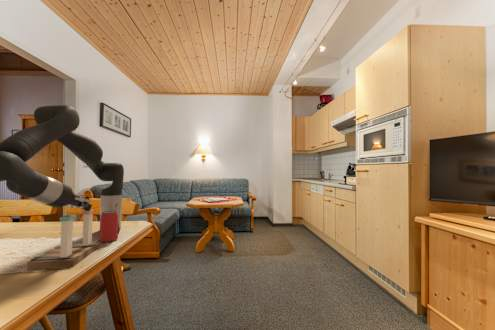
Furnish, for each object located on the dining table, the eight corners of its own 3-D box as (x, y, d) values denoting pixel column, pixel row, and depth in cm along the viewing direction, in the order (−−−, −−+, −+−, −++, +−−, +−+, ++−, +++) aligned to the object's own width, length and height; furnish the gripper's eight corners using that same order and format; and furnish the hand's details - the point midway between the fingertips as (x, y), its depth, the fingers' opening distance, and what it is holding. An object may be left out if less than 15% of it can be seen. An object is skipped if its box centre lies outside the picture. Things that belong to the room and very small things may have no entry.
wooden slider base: (61, 250, 88) (61, 243, 88) (97, 248, 90) (98, 241, 90) (27, 269, 70) (27, 261, 70) (73, 266, 72) (73, 258, 72)
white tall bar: (85, 243, 88) (86, 209, 88) (93, 242, 88) (94, 209, 89) (81, 246, 84) (82, 211, 85) (88, 245, 85) (89, 211, 85)
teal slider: (65, 254, 76) (66, 215, 76) (73, 253, 76) (74, 215, 77) (58, 258, 72) (59, 217, 73) (67, 257, 73) (68, 217, 73)
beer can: (109, 243, 97) (110, 213, 97) (95, 241, 98) (96, 212, 99) (121, 238, 103) (121, 210, 104) (108, 237, 105) (108, 210, 105)
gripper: (74, 180, 72) (109, 198, 88) (35, 179, 74) (76, 197, 89) (65, 204, 69) (102, 218, 85) (24, 203, 71) (68, 217, 86)
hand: (89, 207), depth 87 cm, fingers closed
